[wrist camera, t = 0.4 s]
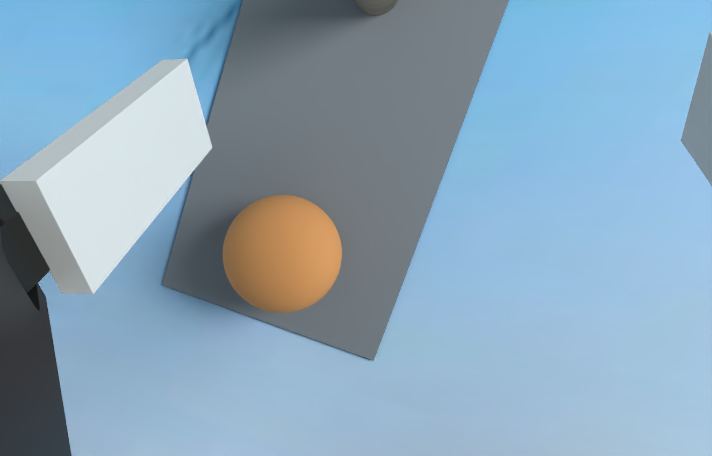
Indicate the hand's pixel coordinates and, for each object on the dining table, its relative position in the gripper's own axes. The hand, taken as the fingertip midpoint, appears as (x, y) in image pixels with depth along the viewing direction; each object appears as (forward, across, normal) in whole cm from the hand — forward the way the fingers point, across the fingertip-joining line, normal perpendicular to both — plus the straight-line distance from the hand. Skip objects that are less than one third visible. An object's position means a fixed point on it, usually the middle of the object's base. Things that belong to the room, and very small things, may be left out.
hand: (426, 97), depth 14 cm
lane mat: (+13, +6, +6) cm, 15 cm away
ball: (+7, +8, +11) cm, 15 cm away
